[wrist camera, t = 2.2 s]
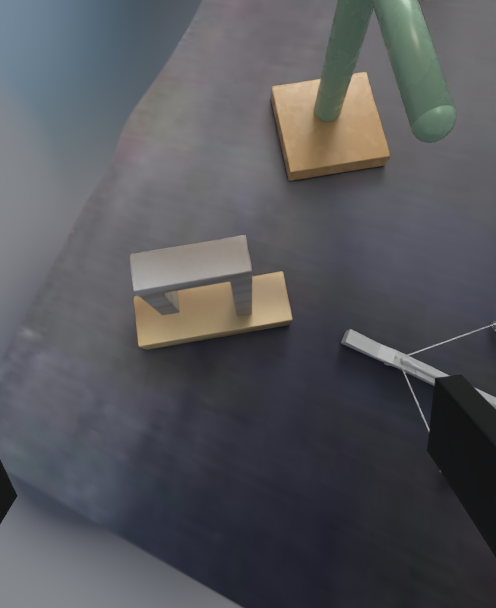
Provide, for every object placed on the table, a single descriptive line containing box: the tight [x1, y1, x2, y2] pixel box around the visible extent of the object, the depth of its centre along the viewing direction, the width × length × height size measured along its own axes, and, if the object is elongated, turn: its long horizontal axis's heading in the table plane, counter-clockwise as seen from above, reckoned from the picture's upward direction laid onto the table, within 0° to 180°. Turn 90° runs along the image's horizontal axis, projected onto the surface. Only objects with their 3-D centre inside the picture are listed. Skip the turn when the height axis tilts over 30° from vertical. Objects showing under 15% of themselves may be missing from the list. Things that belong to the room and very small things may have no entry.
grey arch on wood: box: [129, 235, 293, 350], centre depth 25 cm, size 4×12×13 cm, turn 100°
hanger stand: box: [271, 0, 456, 181], centre depth 27 cm, size 16×9×17 cm, turn 10°
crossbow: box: [341, 321, 496, 472], centre depth 30 cm, size 16×13×2 cm
